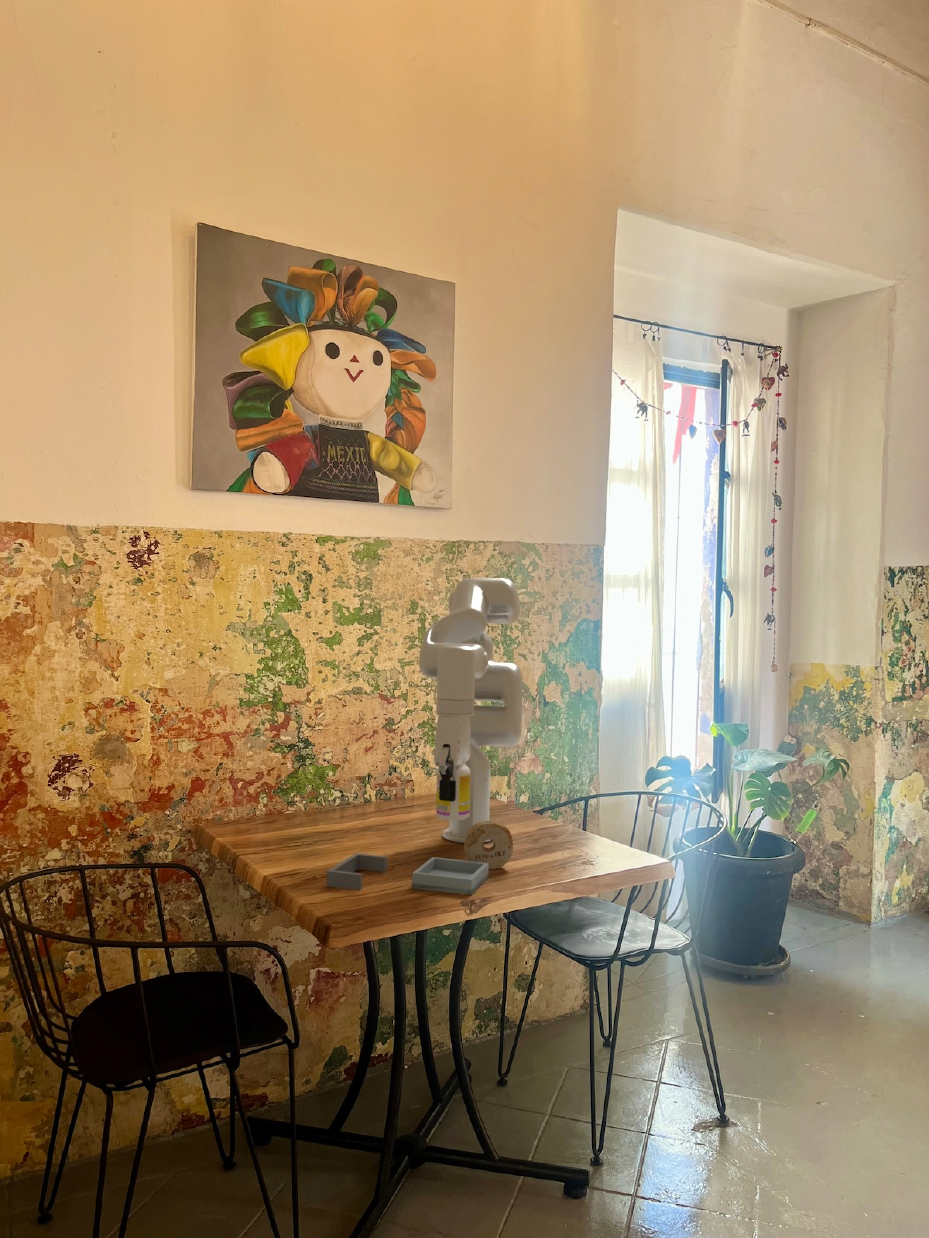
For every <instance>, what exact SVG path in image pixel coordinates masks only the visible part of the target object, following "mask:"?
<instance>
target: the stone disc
mask: <svg viewBox="0 0 929 1238" xmlns="http://www.w3.org/2000/svg"><path fill="white" fill-rule="evenodd" d="M488 839H490V840H491V841H492V842H493V845H492V847H490V848H488V847H486V846H484V843H485V842H484V841H485V840H488ZM513 841H514V840H513V836H512V833H511V832H510V829H509V828H508V827H507V826H506V825H504V824H503V823H501V822H497V821H495V820H493V821H490V820H489V821H483V822H478V823H476V824H475V825H473V826H472V827H471V828H470V829H469V831H468V832H467V835H466V838H465V843H463V853H464V855H465V858H466V861H472V862H482V863H489V868H488V869H489V870H498V869H500V868H502V867H504V866H505V865H506V864H507V863H508V862H509V860H510V859H511V857H512V855H513V851H514V844H513Z"/></svg>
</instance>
